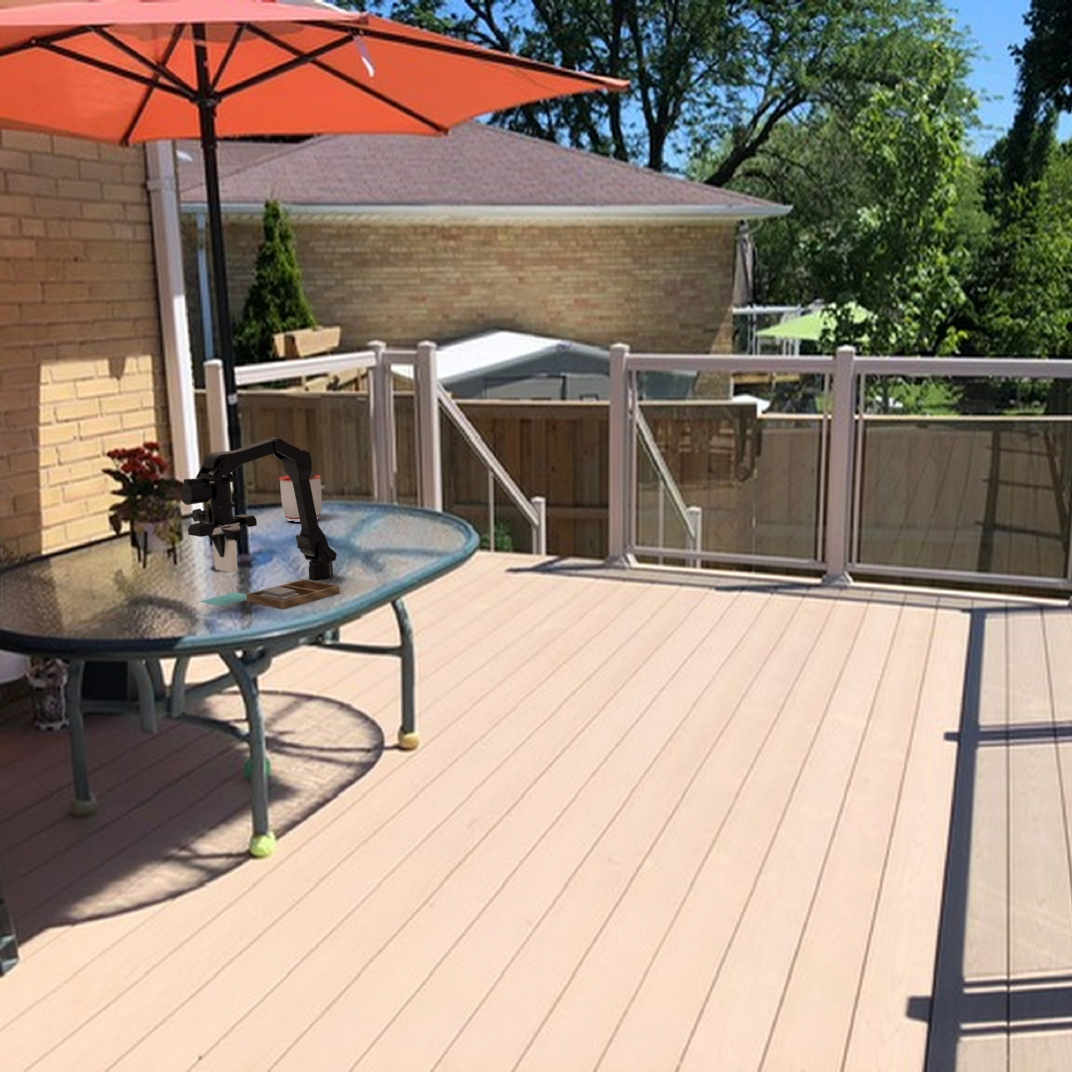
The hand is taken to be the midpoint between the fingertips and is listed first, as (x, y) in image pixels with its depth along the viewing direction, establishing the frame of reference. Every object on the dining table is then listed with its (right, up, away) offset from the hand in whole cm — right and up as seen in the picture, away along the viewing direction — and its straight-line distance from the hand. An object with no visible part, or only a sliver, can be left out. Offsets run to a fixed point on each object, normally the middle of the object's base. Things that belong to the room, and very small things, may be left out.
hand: (225, 556), depth 301 cm
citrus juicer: (-4, +11, +123) cm, 124 cm away
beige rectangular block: (0, -4, +1) cm, 4 cm away
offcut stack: (+15, -12, -1) cm, 19 cm away
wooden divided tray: (+18, -12, +3) cm, 22 cm away
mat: (0, -13, +3) cm, 13 cm away
